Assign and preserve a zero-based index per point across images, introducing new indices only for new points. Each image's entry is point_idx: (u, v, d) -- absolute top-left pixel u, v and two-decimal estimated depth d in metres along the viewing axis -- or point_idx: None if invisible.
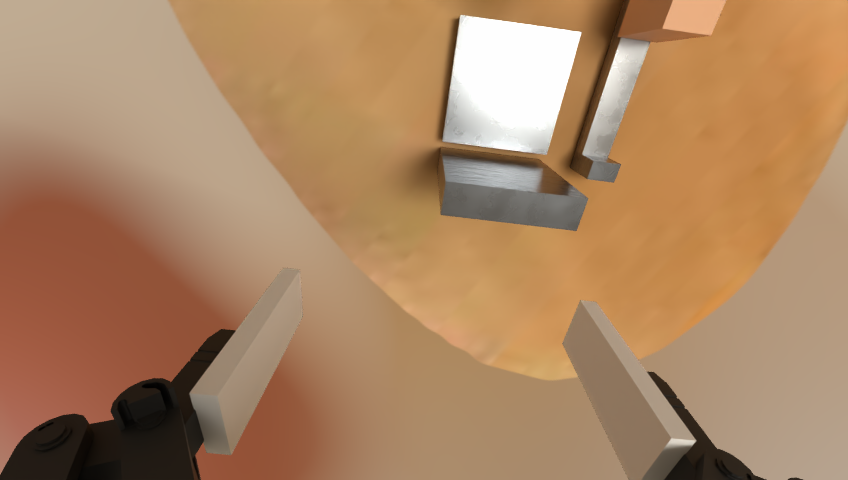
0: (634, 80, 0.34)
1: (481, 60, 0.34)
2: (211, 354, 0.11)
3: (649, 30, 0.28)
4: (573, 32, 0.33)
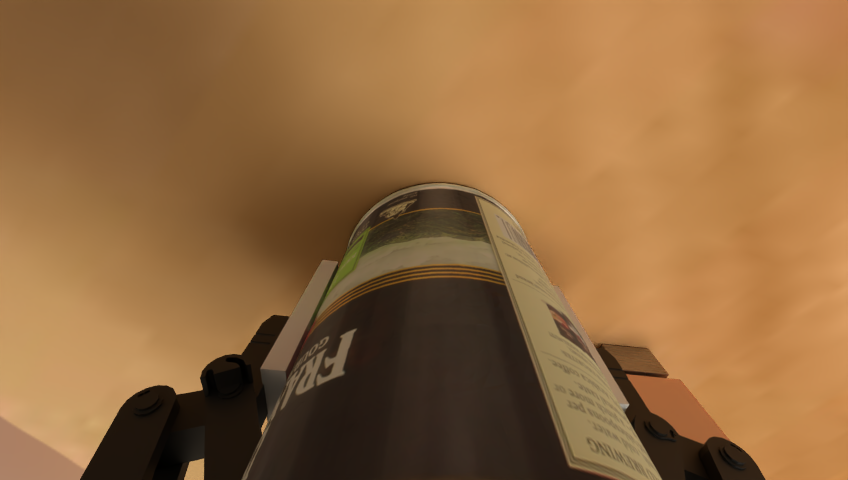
0: None
1: None
2: (268, 337, 0.12)
3: None
4: None
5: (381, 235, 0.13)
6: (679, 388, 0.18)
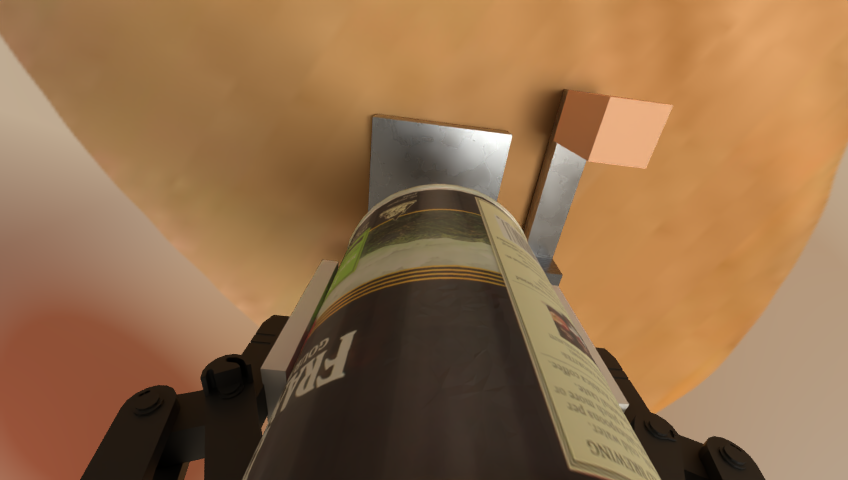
0: (576, 183, 0.30)
1: (401, 162, 0.30)
2: (268, 337, 0.12)
3: (578, 154, 0.24)
4: (503, 135, 0.29)
5: (381, 236, 0.13)
6: (614, 96, 0.26)
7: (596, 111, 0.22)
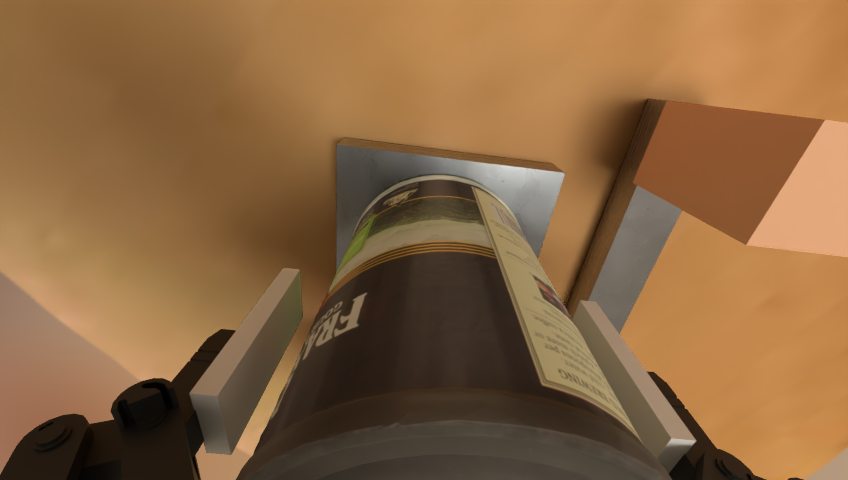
0: (661, 245, 0.19)
1: None
2: (211, 354, 0.11)
3: (707, 221, 0.13)
4: (550, 173, 0.18)
5: (386, 220, 0.14)
6: None
7: (767, 147, 0.11)
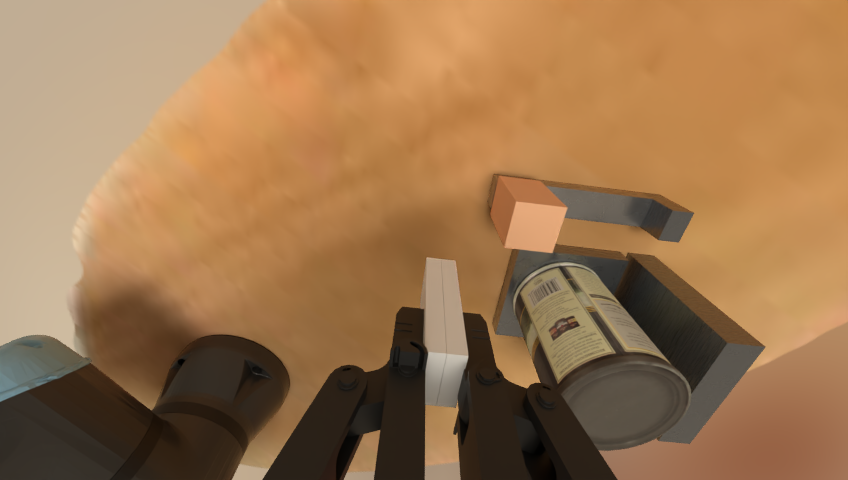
0: (572, 190, 0.32)
1: None
2: (408, 325, 0.13)
3: None
4: (519, 254, 0.36)
5: None
6: (499, 182, 0.31)
7: None
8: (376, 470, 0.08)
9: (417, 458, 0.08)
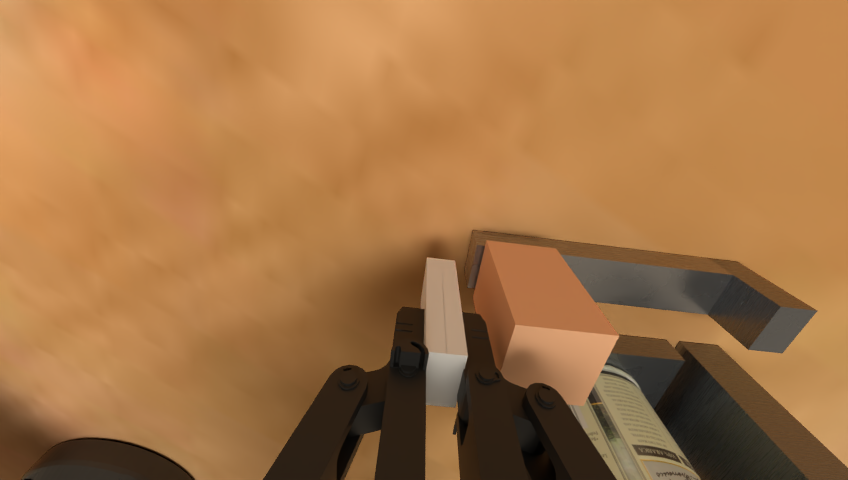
0: (601, 262, 0.20)
1: None
2: (408, 325, 0.13)
3: None
4: None
5: None
6: (486, 253, 0.18)
7: None
8: (377, 470, 0.08)
9: (418, 458, 0.08)
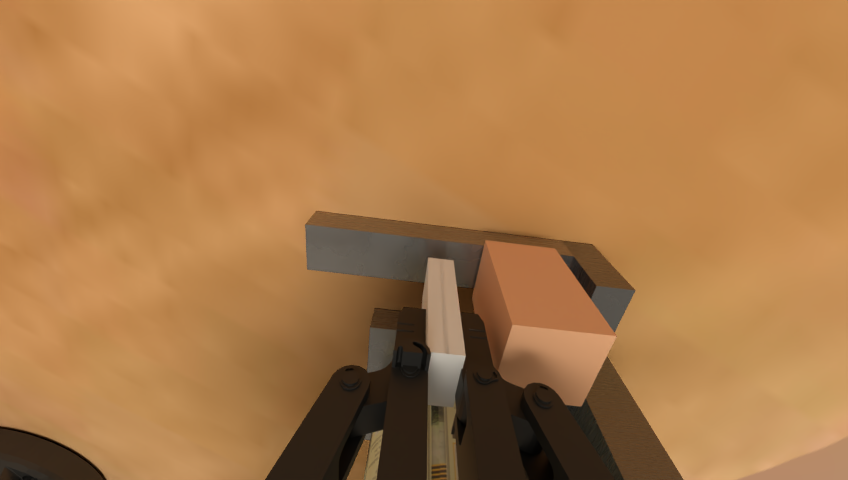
0: (436, 242, 0.19)
1: None
2: (410, 326, 0.13)
3: None
4: (371, 336, 0.22)
5: None
6: (485, 253, 0.18)
7: None
8: (379, 470, 0.08)
9: (419, 458, 0.08)
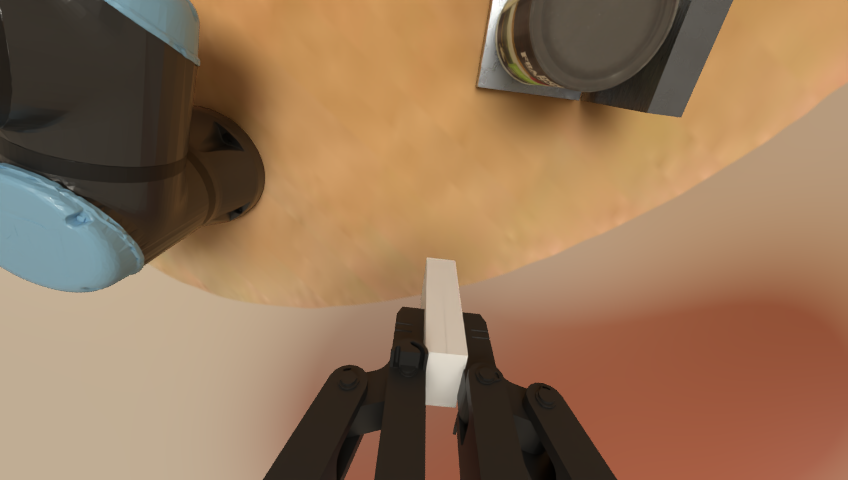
0: None
1: None
2: (408, 325, 0.13)
3: None
4: None
5: (508, 55, 0.33)
6: None
7: None
8: (376, 470, 0.08)
9: (417, 458, 0.08)
